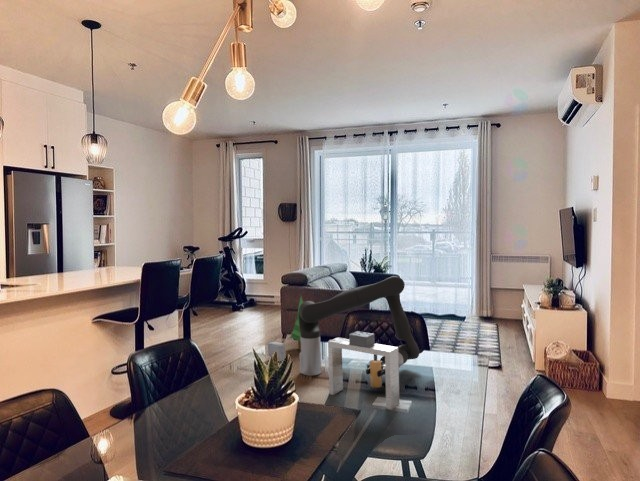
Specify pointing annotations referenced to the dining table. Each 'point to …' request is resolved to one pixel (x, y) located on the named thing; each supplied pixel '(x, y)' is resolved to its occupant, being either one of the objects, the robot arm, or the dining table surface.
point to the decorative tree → (297, 328)
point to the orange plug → (375, 373)
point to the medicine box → (277, 350)
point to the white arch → (366, 345)
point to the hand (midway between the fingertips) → (372, 373)
